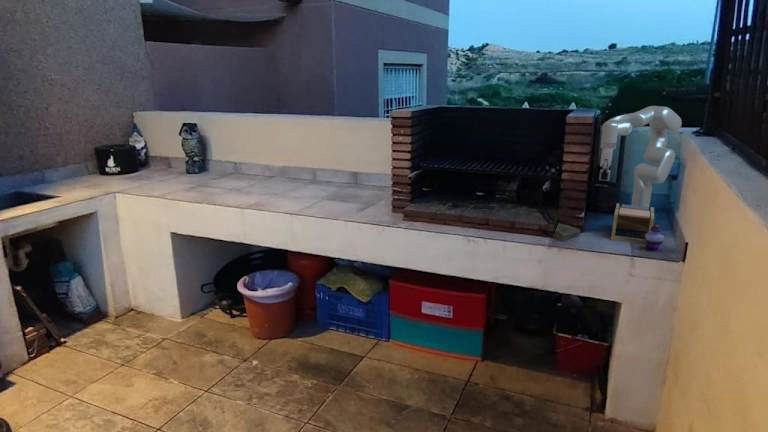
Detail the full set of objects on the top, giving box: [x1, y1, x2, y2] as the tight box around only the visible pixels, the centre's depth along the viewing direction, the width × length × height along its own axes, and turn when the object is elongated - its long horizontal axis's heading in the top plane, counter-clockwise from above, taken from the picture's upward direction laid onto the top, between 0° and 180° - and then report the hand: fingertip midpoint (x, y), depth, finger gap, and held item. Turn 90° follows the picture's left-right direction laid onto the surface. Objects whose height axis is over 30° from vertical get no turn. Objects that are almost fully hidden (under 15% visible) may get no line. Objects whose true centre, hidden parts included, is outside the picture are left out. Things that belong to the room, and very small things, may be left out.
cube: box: [598, 168, 611, 182], centre depth 272 cm, size 5×5×5 cm
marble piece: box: [553, 222, 581, 242], centre depth 264 cm, size 17×15×4 cm
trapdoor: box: [619, 203, 650, 219], centre depth 260 cm, size 18×14×4 cm
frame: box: [610, 203, 655, 245], centre depth 261 cm, size 25×18×14 cm
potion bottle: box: [644, 224, 665, 251], centre depth 242 cm, size 9×9×12 cm
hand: (604, 178), depth 273 cm, fingers closed on cube, 5 cm apart
